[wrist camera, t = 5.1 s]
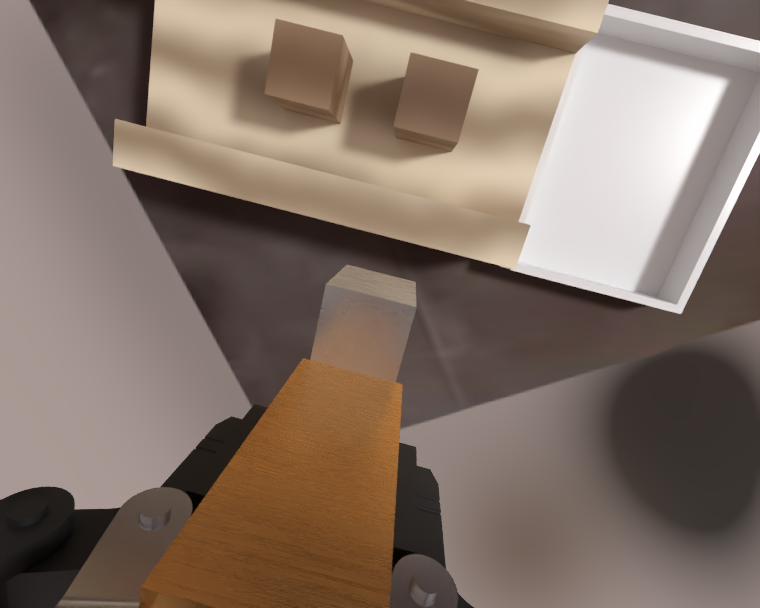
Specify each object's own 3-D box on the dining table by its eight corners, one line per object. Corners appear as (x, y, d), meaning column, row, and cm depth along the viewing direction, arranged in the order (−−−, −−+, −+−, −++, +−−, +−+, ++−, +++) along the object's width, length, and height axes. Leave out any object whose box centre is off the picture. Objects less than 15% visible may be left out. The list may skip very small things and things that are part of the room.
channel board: (197, -63, 28) (128, -149, 21) (568, 28, 27) (619, -29, 21) (175, 174, 32) (112, 165, 26) (493, 256, 32) (515, 269, 25)
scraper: (341, 263, 16) (156, 416, 4) (421, 283, 16) (442, 492, 4) (303, 440, 18) (118, 839, 7) (372, 459, 18) (304, 892, 7)
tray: (574, 22, 27) (594, 0, 24) (765, 69, 27) (808, 52, 24) (494, 262, 32) (503, 268, 29) (656, 304, 32) (681, 314, 29)
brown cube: (410, 75, 25) (410, 52, 22) (468, 89, 25) (478, 69, 22) (395, 137, 26) (393, 126, 23) (451, 151, 26) (458, 142, 23)
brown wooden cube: (296, 46, 26) (275, 18, 22) (353, 61, 25) (342, 35, 22) (285, 109, 27) (264, 94, 23) (340, 123, 27) (328, 110, 23)
